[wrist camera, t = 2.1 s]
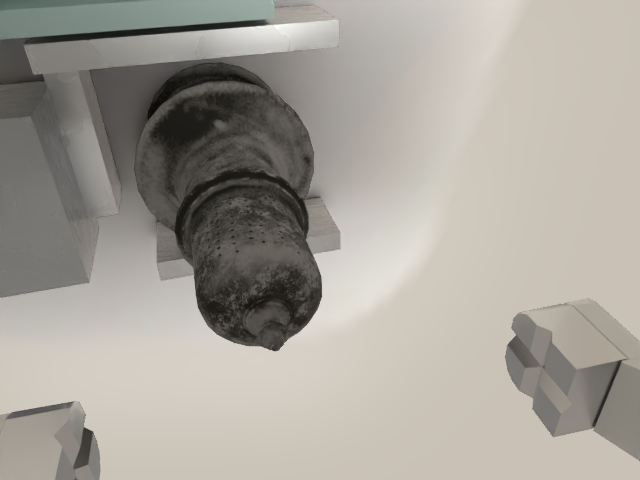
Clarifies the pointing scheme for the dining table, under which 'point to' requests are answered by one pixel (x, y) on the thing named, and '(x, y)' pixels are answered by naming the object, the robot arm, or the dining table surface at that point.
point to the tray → (120, 15)
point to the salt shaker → (234, 199)
